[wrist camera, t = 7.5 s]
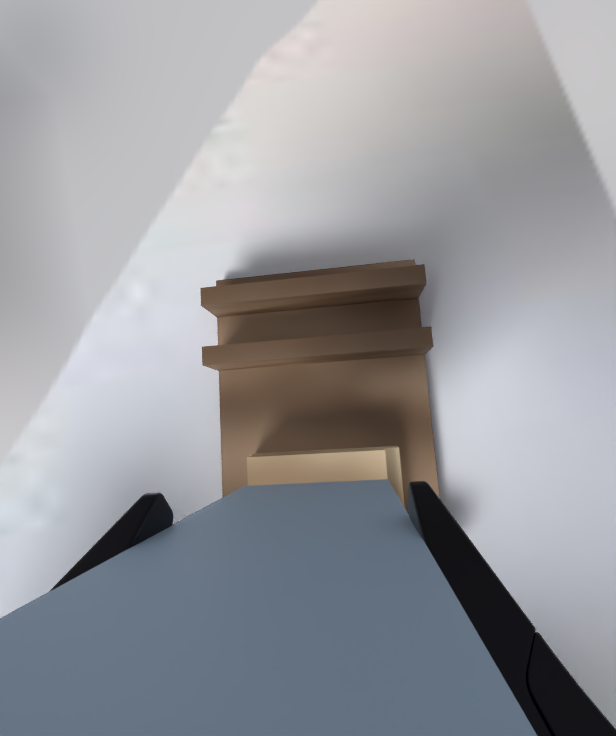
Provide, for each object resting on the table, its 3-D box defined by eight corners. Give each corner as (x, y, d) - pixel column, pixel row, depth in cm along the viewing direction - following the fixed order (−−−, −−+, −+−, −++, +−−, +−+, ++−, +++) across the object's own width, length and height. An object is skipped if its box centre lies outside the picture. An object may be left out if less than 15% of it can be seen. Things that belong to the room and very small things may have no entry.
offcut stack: (405, 541, 21) (411, 557, 18) (258, 545, 21) (246, 560, 19) (396, 445, 21) (401, 449, 19) (255, 453, 22) (243, 457, 20)
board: (391, 517, 15) (679, 1280, 2) (245, 523, 16) (-402, 1095, 2) (388, 479, 16) (614, 867, 2) (244, 485, 16) (-354, 809, 3)
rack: (443, 562, 21) (459, 588, 18) (229, 566, 22) (207, 592, 19) (412, 264, 23) (421, 239, 20) (220, 285, 25) (200, 264, 21)
